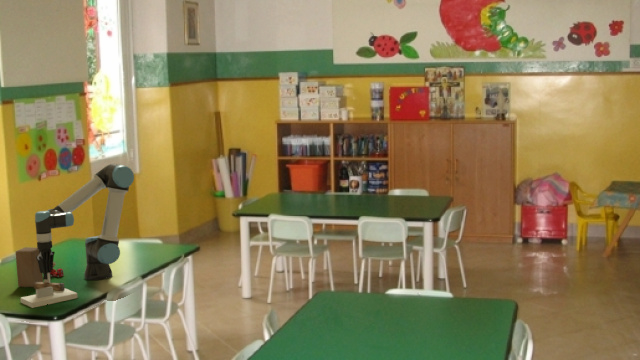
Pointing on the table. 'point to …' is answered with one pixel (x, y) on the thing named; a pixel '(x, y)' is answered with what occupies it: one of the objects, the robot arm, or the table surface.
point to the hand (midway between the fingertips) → (47, 284)
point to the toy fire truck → (56, 274)
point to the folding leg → (49, 285)
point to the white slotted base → (48, 297)
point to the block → (28, 267)
